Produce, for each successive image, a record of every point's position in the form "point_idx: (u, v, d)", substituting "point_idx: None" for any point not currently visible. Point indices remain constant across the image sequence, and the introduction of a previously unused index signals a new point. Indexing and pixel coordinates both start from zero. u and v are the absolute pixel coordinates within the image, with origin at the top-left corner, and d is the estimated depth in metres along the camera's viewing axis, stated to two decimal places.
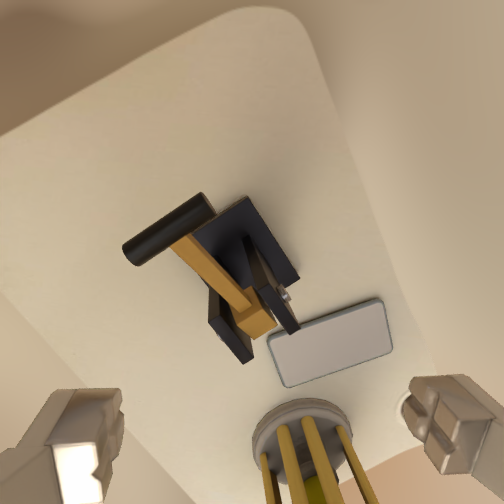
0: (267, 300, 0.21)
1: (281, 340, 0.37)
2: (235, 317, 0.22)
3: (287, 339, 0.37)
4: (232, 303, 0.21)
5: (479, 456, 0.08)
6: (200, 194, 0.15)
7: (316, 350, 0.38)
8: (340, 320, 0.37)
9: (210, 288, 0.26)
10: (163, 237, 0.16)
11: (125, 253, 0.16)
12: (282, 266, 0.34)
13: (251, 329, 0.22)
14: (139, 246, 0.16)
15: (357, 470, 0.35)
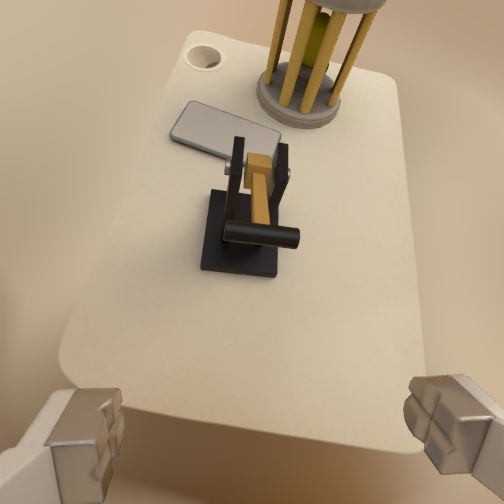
0: (240, 165, 0.26)
1: None
2: (269, 173, 0.27)
3: None
4: (263, 180, 0.26)
5: (479, 456, 0.08)
6: (225, 236, 0.20)
7: None
8: (208, 144, 0.44)
9: (273, 214, 0.31)
10: (268, 229, 0.20)
11: (298, 238, 0.20)
12: (216, 205, 0.39)
13: (265, 160, 0.28)
14: (286, 235, 0.20)
15: (275, 46, 0.44)
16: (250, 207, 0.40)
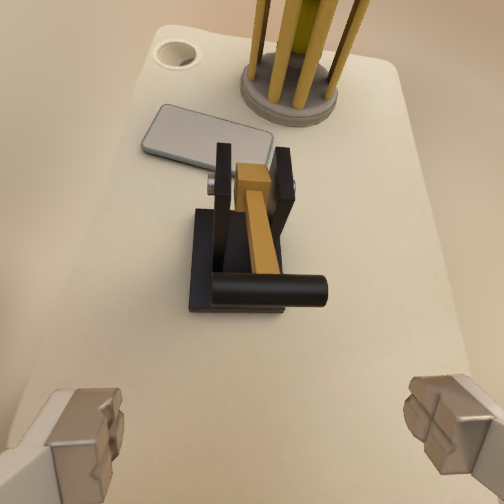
0: (228, 182, 0.19)
1: None
2: (268, 190, 0.20)
3: None
4: (261, 200, 0.19)
5: (479, 456, 0.08)
6: (212, 301, 0.13)
7: None
8: (188, 154, 0.36)
9: (276, 239, 0.24)
10: (278, 283, 0.13)
11: (326, 293, 0.13)
12: (203, 228, 0.32)
13: (261, 171, 0.21)
14: (307, 290, 0.13)
15: (258, 32, 0.37)
16: (245, 227, 0.33)
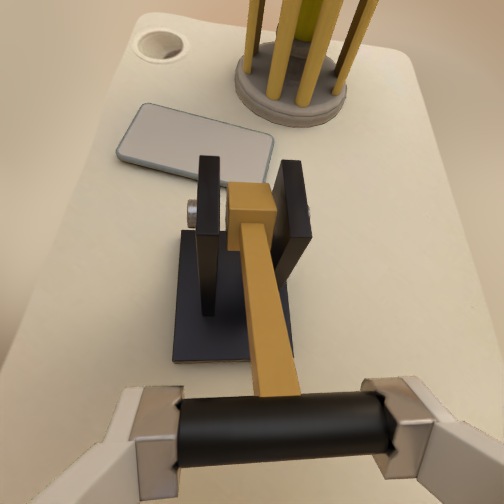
0: (215, 214, 0.13)
1: None
2: (272, 222, 0.14)
3: (239, 179, 0.31)
4: (264, 240, 0.13)
5: (424, 460, 0.07)
6: (180, 465, 0.07)
7: (217, 150, 0.32)
8: (172, 162, 0.30)
9: (283, 281, 0.18)
10: (300, 424, 0.07)
11: (386, 438, 0.07)
12: (191, 255, 0.26)
13: (262, 195, 0.15)
14: (353, 435, 0.07)
15: (254, 15, 0.31)
16: None
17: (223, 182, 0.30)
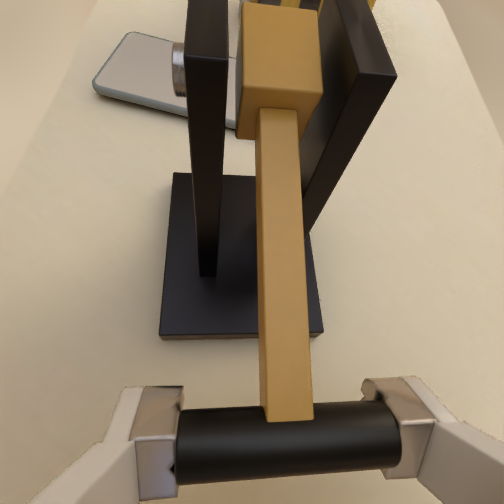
0: (220, 32, 0.07)
1: None
2: (311, 108, 0.09)
3: None
4: (294, 152, 0.08)
5: (424, 460, 0.07)
6: None
7: None
8: (163, 96, 0.24)
9: (321, 204, 0.12)
10: (308, 460, 0.07)
11: (394, 466, 0.07)
12: (185, 202, 0.20)
13: (301, 47, 0.08)
14: (361, 467, 0.07)
15: None
16: (251, 199, 0.21)
17: (226, 121, 0.24)
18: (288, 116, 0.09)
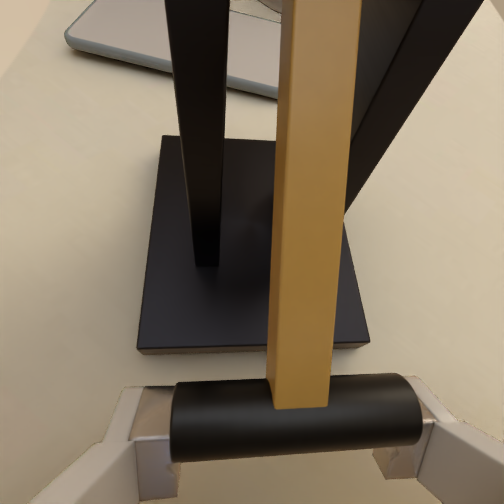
0: None
1: (264, 79, 0.20)
2: None
3: (255, 75, 0.20)
4: (351, 25, 0.05)
5: (424, 460, 0.07)
6: None
7: None
8: (151, 50, 0.20)
9: (395, 127, 0.07)
10: (317, 446, 0.06)
11: (407, 445, 0.07)
12: (177, 170, 0.15)
13: None
14: None
15: None
16: (263, 168, 0.16)
17: (229, 78, 0.20)
18: None
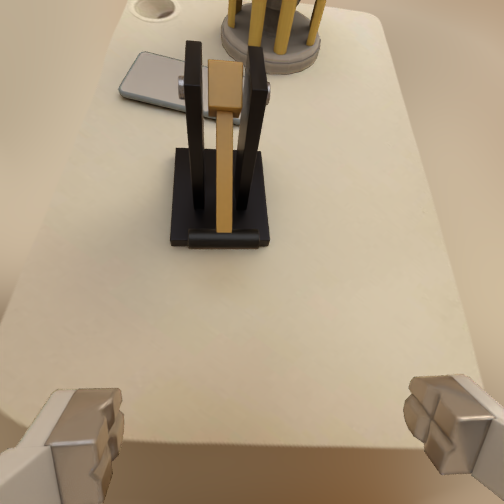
0: (197, 74, 0.18)
1: None
2: (239, 111, 0.20)
3: None
4: (230, 133, 0.21)
5: (479, 456, 0.08)
6: (189, 248, 0.22)
7: (206, 89, 0.37)
8: (167, 97, 0.35)
9: (254, 153, 0.23)
10: (228, 243, 0.22)
11: (257, 247, 0.22)
12: (184, 166, 0.31)
13: (234, 84, 0.20)
14: (245, 246, 0.22)
15: None
16: None
17: None
18: (228, 115, 0.20)
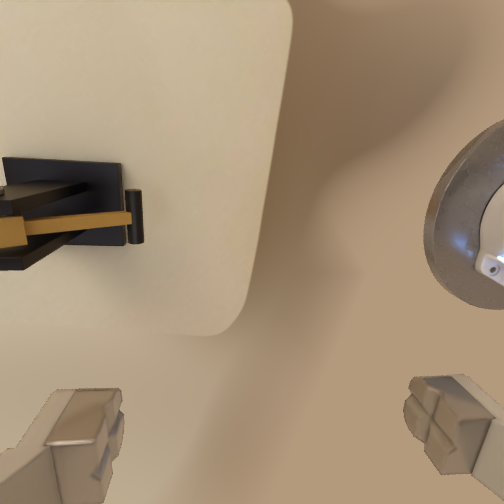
0: (5, 260, 0.21)
1: None
2: (21, 216, 0.23)
3: None
4: (45, 221, 0.24)
5: (479, 456, 0.08)
6: None
7: None
8: None
9: (50, 192, 0.25)
10: (139, 214, 0.29)
11: (141, 191, 0.28)
12: None
13: None
14: (141, 200, 0.28)
15: None
16: None
17: None
18: (27, 224, 0.23)
